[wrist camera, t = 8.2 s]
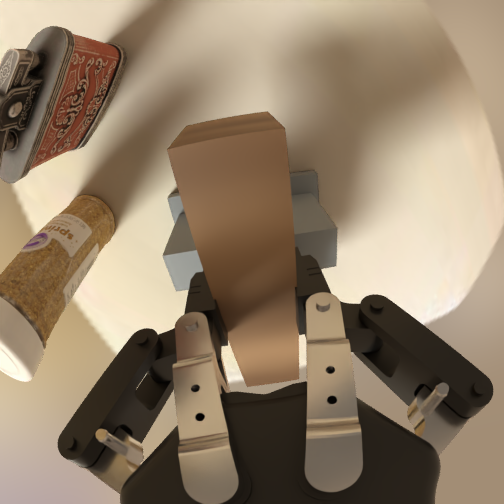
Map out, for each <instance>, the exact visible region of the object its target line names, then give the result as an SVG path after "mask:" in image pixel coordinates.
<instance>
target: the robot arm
mask: <svg viewBox="0 0 504 504" xmlns="http://www.w3.org/2000/svg"><path fill="white" fill-rule="evenodd" d="M295 255H296V274H297V287H295V304H296V323H297V328H298V332H299V335H302V334H305V336H306V340H307V381H306V382H301V383H296V384H292V385H289V386H287V387H284V388H282V389H279V390H276V391H274V392H271V393H269V394H253V393H244V392H230V388H229V384H228V380H227V376H226V372H225V367H224V363H223V359H222V356H221V346H228V332H227V329H226V326H225V324H224V321H223V318H222V315H221V312H220V310H219V307H218V304H217V301H216V299H215V300H214V299H213V297H212V294H211V291H210V288H209V285H208V282H207V279H206V276H205V273H204V270H203V272H196V273H195V274H194V276H193V277H192V278H191V280H190V285H189V291H188V296H187V302H186V308H185V314H184V315H183V316H181V317H180V318H179V319H178V320H177V322H176V324H175V328H174V329H172V330H170V331H167V332H164V333H162V334H159V335H158V334H157V332H156V331H155V330H153V329H149V328H146V329H141V330H139V331H137V332H136V333H134V334H133V335H132V336H131V338H130V339H129V340H128V341H127V343H126V344H125V345H124V347H123V348H122V349H121V351H120V352H119V353H118V355H117V356H116V357H115V359H114V360H113V361H112V363H111V364H110V365H109V367H108V368H107V369H106V371H105V372H104V373H103V375H102V376H101V377H100V379H99V380H98V381H97V383H96V384H95V386H94V387H93V388H92V390H91V391H90V393H89V394H88V395H87V397H86V398H85V400H84V401H83V402H82V404H81V405H80V407H79V408H78V409H77V411H76V412H75V414H74V415H73V417H72V418H71V420H70V421H69V423H68V424H67V426H66V427H65V428H64V430H63V431H62V433H61V434H60V436H59V439H58V449H59V452H60V454H61V455H62V456H63V457H64V458H66V459H68V460H69V461H71V462H73V463H75V464H77V465H78V466H79V467H81V468H83V469H86V470H87V471H90V472H91V473H93V474H94V475H95V476H96V477H98V478H99V479H100V480H101V481H103V482H104V483H105V484H107V485H108V486H109V487H111V488H112V489H114V490H115V491H117V492H118V493H119V494H120V503H121V504H435V493H436V487H437V482H438V479H439V474H440V459H439V455H440V453H442V451H443V450H444V449H445V448H446V447H447V446H448V445H449V443H450V442H451V441H452V440H453V439H454V437H455V436H456V435H457V434H458V433H459V431H460V430H461V429H462V427H463V426H464V425H465V424H466V423H467V422H468V421H469V420H470V419H471V418H473V417H474V416H475V415H476V414H477V413H478V412H479V411H480V410H481V409H483V408H484V407H485V406H486V404H488V403H489V402H490V400H491V398H492V396H493V385H492V383H491V381H490V379H489V378H488V377H487V376H486V375H485V374H484V373H482V372H481V371H480V370H479V369H478V368H476V367H475V366H474V365H473V364H472V363H470V362H469V361H468V360H467V359H465V358H464V357H463V356H462V355H461V354H459V353H458V352H457V351H456V350H454V349H453V348H452V347H451V346H449V345H448V344H447V343H445V342H444V341H443V340H442V339H441V338H439V337H438V336H437V335H435V334H434V333H433V332H432V331H430V330H429V329H428V328H426V327H425V326H424V325H423V324H421V323H420V322H419V321H417V320H416V319H415V318H413V317H412V316H411V315H409V314H408V313H407V312H405V311H404V310H403V309H401V308H400V307H399V306H397V305H396V304H395V303H393V302H392V301H391V300H389V299H388V298H386V297H384V296H382V295H369V296H366V297H365V298H363V300H362V301H361V303H360V304H349V303H343V302H341V301H339V299H338V298H337V297H336V296H335V295H333V294H331V291H330V289H329V287H328V285H327V282H326V280H325V278H324V275H323V274H322V271H321V269H320V266H319V264H318V262H317V260H316V259H315V258H313V257H312V256H311V255H304V256H301V253H300V251H299V248H298V246H297V247H295ZM351 352H354V354H355V355H356V356H357V357H358V358H359V359H360V360H361V361H362V362H363V363H364V364H365V365H366V366H367V367H368V368H369V369H370V370H371V371H372V372H373V373H375V375H377V376H378V377H379V378H380V379H381V380H382V381H383V382H384V383H385V384H386V385H387V386H388V387H389V388H390V389H391V390H392V391H393V392H394V393H395V394H396V395H397V396H398V397H400V399H402V400H403V401H404V402H405V403H406V404H407V405H408V406H409V408H408V411H407V416H408V419H409V421H410V423H411V424H412V425H413V427H414V430H415V434H414V433H412V432H410V431H409V430H407V429H405V428H404V427H402V426H400V425H399V424H397V423H396V422H394V421H392V420H391V419H389V418H388V417H386V416H384V415H383V414H381V413H380V412H378V411H377V410H375V409H373V408H372V407H370V406H369V405H367V404H366V403H364V402H363V401H361V400H360V399H358V398H357V397H356V389H355V381H354V371H353V363H352V356H351ZM146 373H147V375H146ZM145 375H146V376H145ZM144 376H145V378H144ZM143 378H144V379H143ZM142 379H143V381H142ZM141 381H142V382H141ZM140 382H141V384H140V385H139V383H140ZM138 385H139V387H138ZM137 387H138V388H137ZM136 388H137V390H136ZM173 390H174V394H175V404H176V414H177V422H178V425H177V426H176V427H175V428H174V430H173V431H172V432H171V433H170V434H169V435H168V436H167V437H166V438H165V439H164V441H163V442H162V443H161V444H160V445H159V446H158V447H157V448H156V449H155V450H154V452H153V453H152V454H151V455H150V456H149V457H148V458H147V459H146V460H145V461H144V462H143V463H142V464H141V465H140V463H141V462H142V461H143V459H144V456H143V448H142V445H141V443H142V442H143V440H144V438H145V437H146V435H147V433H148V432H149V430H150V428H151V426H152V425H153V423H154V422H155V420H156V418H157V416H158V414H159V413H160V411H161V410H162V408H163V406H164V405H165V403H166V401H167V400H168V398H169V396H170V395H171V393H172V391H173Z"/></svg>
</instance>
